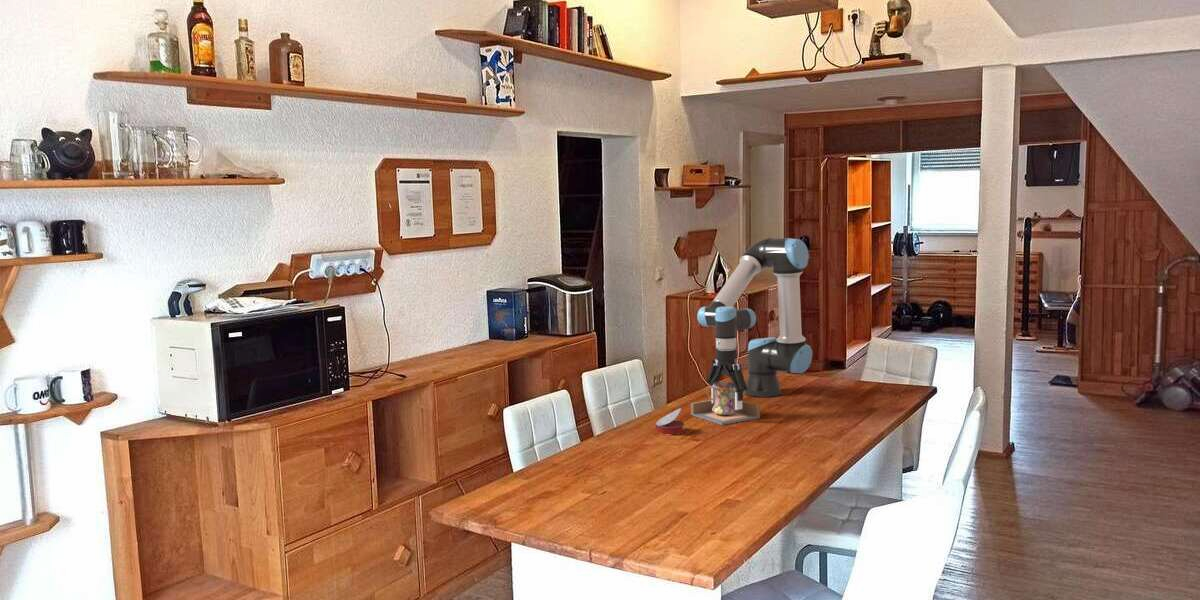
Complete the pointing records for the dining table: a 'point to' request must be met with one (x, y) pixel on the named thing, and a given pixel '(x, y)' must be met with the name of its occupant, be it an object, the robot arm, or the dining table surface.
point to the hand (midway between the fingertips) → (726, 406)
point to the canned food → (670, 424)
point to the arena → (744, 414)
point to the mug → (723, 398)
